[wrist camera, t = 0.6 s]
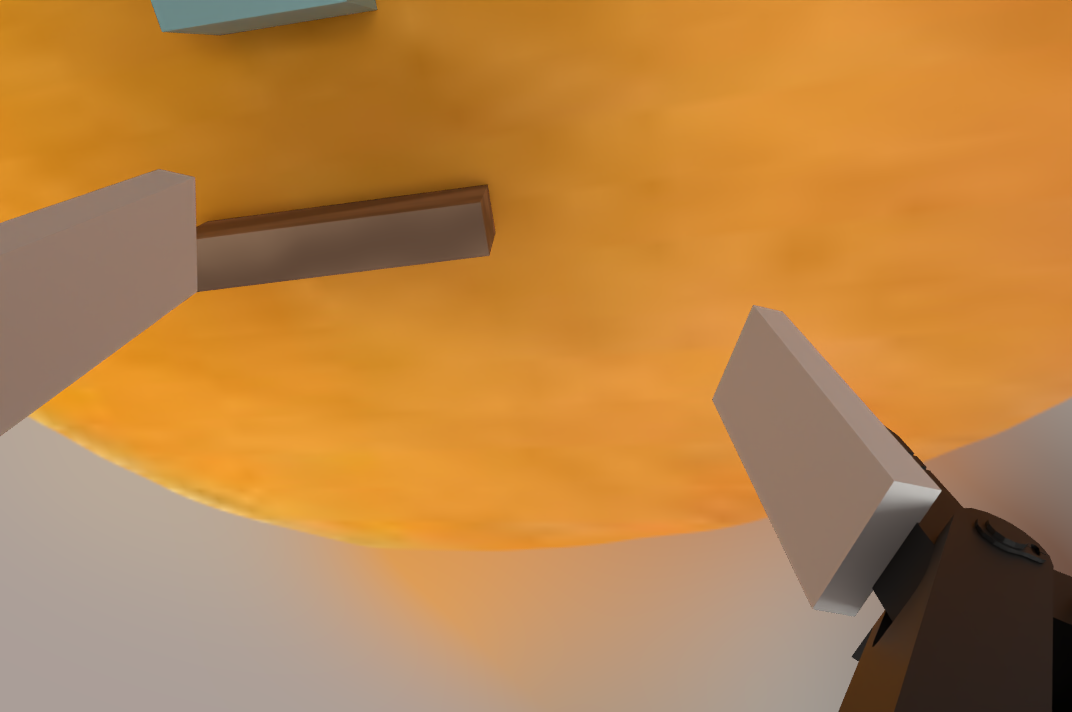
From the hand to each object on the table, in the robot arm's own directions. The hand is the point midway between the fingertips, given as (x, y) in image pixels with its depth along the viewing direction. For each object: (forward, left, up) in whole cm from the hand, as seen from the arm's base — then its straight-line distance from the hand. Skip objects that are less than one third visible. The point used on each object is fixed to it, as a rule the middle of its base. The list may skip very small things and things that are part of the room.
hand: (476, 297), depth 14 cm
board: (+3, -11, -25) cm, 27 cm away
